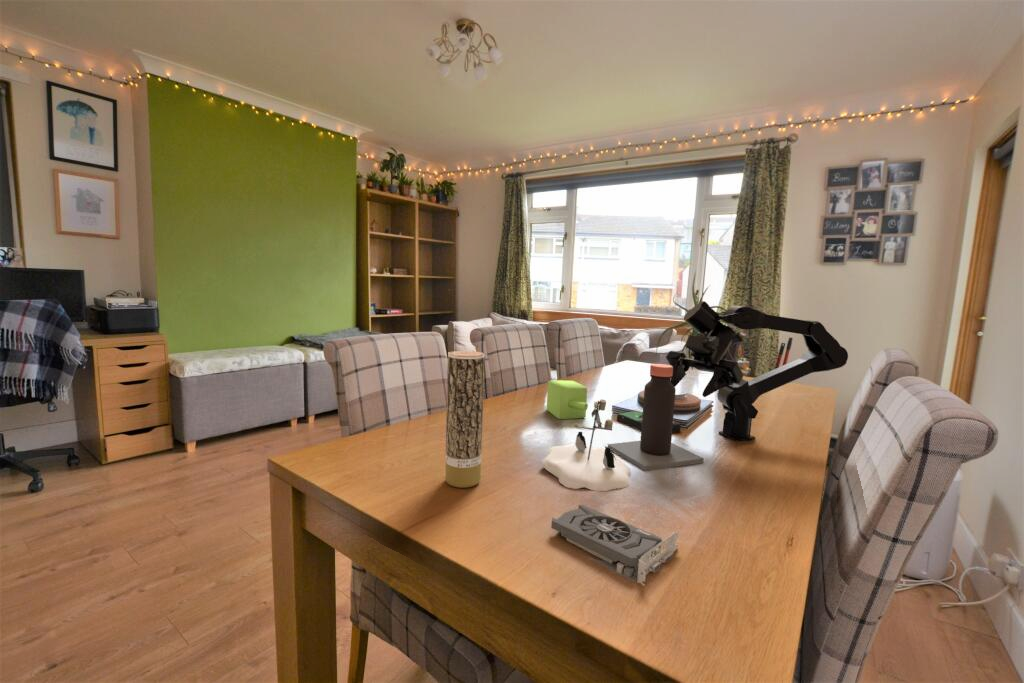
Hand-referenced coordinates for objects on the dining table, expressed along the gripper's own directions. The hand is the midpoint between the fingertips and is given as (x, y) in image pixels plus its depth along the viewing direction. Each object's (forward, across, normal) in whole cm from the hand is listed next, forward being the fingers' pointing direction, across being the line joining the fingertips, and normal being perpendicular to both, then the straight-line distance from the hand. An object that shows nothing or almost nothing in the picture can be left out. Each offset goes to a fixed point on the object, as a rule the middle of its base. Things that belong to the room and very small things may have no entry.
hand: (686, 391), depth 115 cm
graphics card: (+45, +22, -25) cm, 56 cm away
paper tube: (+50, -8, -32) cm, 60 cm away
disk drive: (+7, -14, +13) cm, 21 cm away
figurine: (+33, 0, -14) cm, 36 cm away
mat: (+19, +2, 0) cm, 19 cm away
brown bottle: (+18, +2, 0) cm, 18 cm away
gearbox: (+15, -33, +4) cm, 37 cm away
